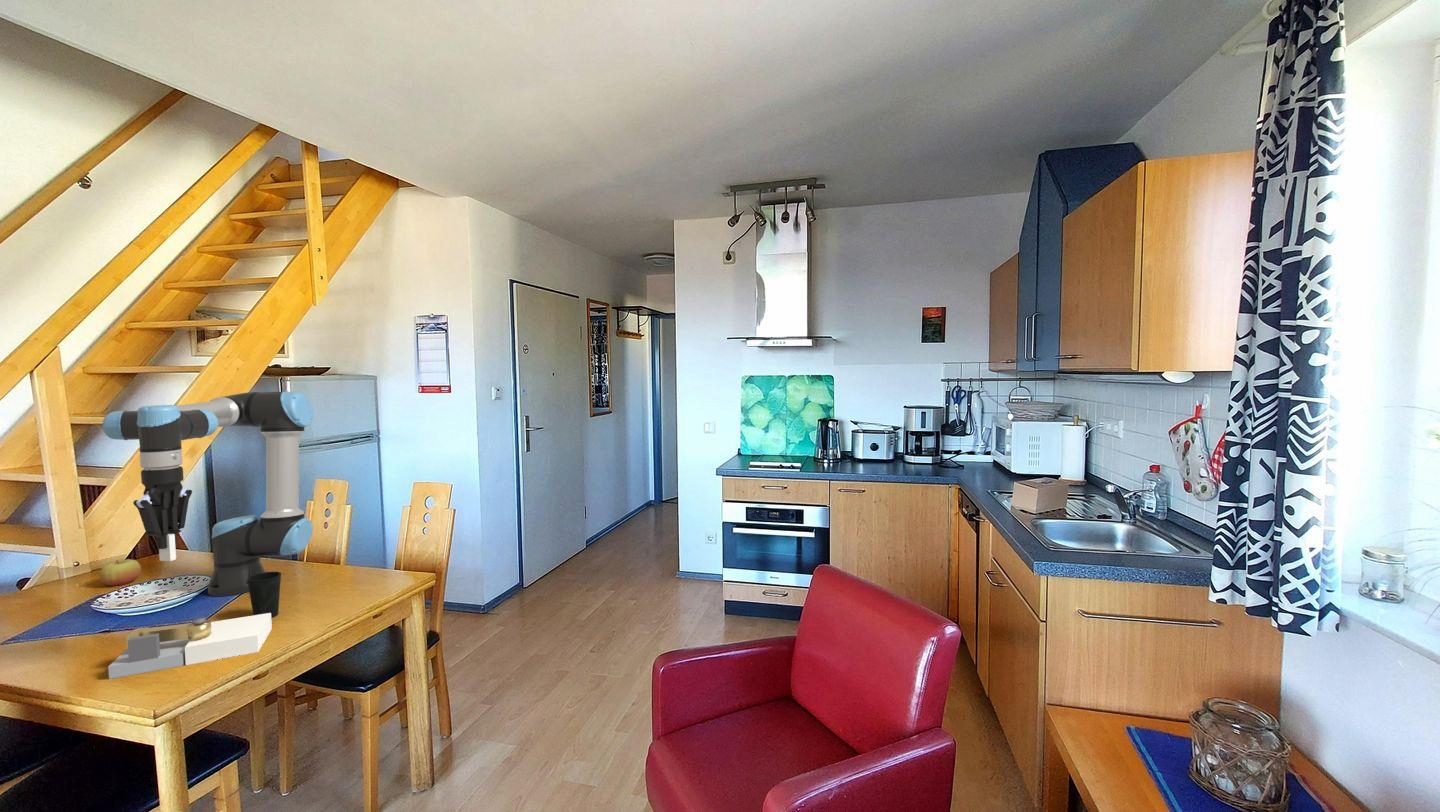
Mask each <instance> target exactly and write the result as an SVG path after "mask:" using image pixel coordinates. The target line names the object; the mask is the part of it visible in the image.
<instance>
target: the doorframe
mask: <svg viewBox="0 0 1440 812" xmlns="http://www.w3.org/2000/svg"><path fill="white" fill-rule="evenodd" d="M205 620H206V617H198V618H195V619H193V620H192V622H191V623H192V624H193V625H198V624H202V623H204V622H205ZM272 623H273V622H272V618H271V613H266V614H260V615H250V616H249V615H247V616H242V617H236V618H230V619H229V618H228V619H222V620H215V621H211V634H210V635H208V636H206V637H204V638H200V639H194V640H190V639H182V640H175V641H167V642H159V633H158V634H151V635H145V636H139V637H132V638H130V639H129V640H128V648H127V647H126V649H125V650H124V651H123V652H122V653H121V654H120V655H119V656H117V658H115V660H113V661H112V662H111V663H110V664H109V665H108V668H107V669H108V680H113V679H117V678H123V677H128V676H133V675H138V674H139V675H140V674H146V673H151V672H157V671H163V670H166V669H173V668H178V667H182V666H190V665H194V664H195V665H196V664H200V663H206V662H211V661H217V659H218V660H221V659H222V658H223V659H227V658H228V657H229V658H234V657H239V655H240V656H245V655H249V654H250V653H251V654H255V653H259V651H260V650H261V648H262V647H263V645H264V643H265V641H266V639H267V638H268V636H269V634H270V633H271V631H272V629H273V625H272ZM262 644H263V645H262ZM251 654H250V655H251ZM233 656H234V657H233Z"/></svg>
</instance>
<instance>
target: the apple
mask: <svg viewBox="0 0 1440 812" xmlns="http://www.w3.org/2000/svg"><path fill="white" fill-rule="evenodd" d="M141 573H142V566H141V564H140V562H139V561H137V560H135V559H131V558H130V559H129V558H127V559H121V560H115V561H112V562H109V563H107V564H105V565H103V566H102V567H101V569H100V571H99V573H98V578H99V580H100V581H101V582H102V583H103V584H105V585H106V586H108V587H110V586H112V587H114V586H115V587H116V586H122V585H125V584H126V585H127V584H129V583H132V582H133V581H135V580H137V578H138V577H139V576H140V574H141Z"/></svg>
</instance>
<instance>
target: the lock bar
mask: <svg viewBox="0 0 1440 812" xmlns="http://www.w3.org/2000/svg"><path fill="white" fill-rule="evenodd" d="M211 622H212V621H211V620H209V619H208V620H207V619H205V622H204V623H202V624H198V625H193V624H192V622H191V623H189V622H188V623H183V624H182V623H181V624H174V625H165V626H159V627H158V626H157V627H156V626H155V627H147V626H146V627H138V628H135V629H133V630H132V631H131V632H129V633H128V634H127V635H125V639H126V649H127V648H128V640H129V639H130V638H132V637H139V636H145V635H151V634H158V633H159V642H167V641H175V640H182V639H190V640H194V639H200V638H204V637H206V636H208V635H210V634H211Z"/></svg>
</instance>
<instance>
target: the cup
mask: <svg viewBox="0 0 1440 812" xmlns="http://www.w3.org/2000/svg"><path fill="white" fill-rule="evenodd" d="M281 578H282V573H281V572H279V571H266V572H265V573H260V574H256V575H253V576H251V577H249V578H248V579H247V581H248V587H249V592H248V593H249V598H250V604H251V609H252V614H253V615H260V614H266V613H271V619H272V618H275V617H277V616H278V615H279V609H280V596H281V595H280V591H281V582H282V581H281ZM253 615H252V616H253Z"/></svg>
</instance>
